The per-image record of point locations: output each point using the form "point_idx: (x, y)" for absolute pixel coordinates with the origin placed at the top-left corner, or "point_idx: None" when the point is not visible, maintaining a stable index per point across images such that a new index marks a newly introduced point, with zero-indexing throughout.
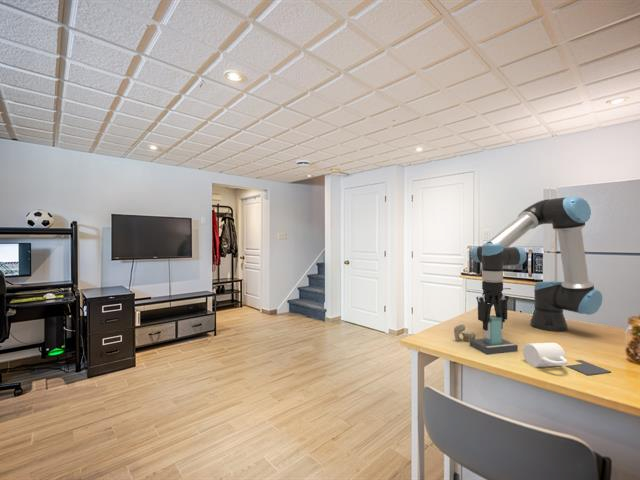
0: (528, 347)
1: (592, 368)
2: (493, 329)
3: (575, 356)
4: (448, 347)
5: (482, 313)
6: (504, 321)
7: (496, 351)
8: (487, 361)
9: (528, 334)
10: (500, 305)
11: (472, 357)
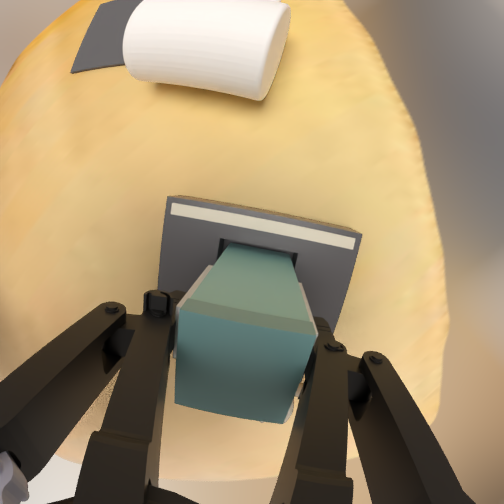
0: (272, 47)
1: (115, 17)
2: (287, 288)
3: (49, 107)
4: (396, 356)
5: (410, 403)
6: (153, 291)
7: (302, 218)
8: (399, 186)
9: (19, 308)
10: (105, 433)
11: (414, 244)
